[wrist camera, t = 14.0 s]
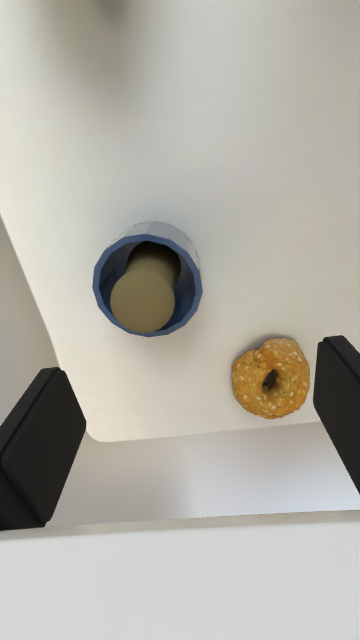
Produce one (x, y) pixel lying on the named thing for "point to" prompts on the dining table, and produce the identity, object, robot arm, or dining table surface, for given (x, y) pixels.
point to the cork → (146, 288)
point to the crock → (115, 265)
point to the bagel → (282, 389)
